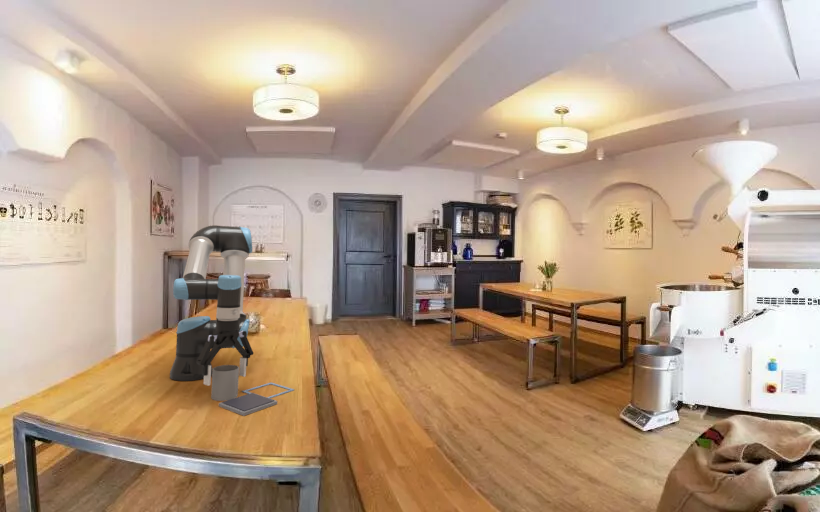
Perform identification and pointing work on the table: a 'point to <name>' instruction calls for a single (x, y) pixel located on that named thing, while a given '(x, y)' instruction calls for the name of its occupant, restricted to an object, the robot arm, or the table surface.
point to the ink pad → (247, 404)
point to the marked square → (271, 384)
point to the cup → (225, 382)
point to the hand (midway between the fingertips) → (225, 380)
